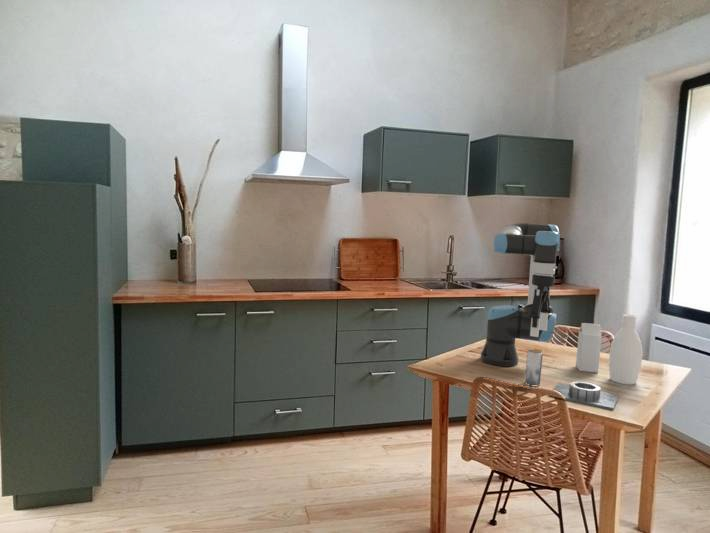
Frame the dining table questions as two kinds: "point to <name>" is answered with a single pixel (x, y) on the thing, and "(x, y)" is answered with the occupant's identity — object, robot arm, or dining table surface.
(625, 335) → the bottle
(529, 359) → the block
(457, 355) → the dining table surface
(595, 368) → the milk carton
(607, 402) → the flange plate
